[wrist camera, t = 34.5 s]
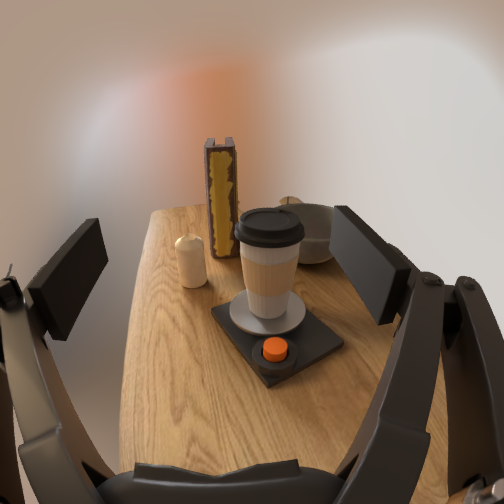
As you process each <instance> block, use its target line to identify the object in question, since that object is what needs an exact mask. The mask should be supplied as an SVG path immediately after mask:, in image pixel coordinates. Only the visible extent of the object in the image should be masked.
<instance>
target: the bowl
mask: <svg viewBox="0 0 504 504" xmlns="http://www.w3.org/2000/svg"><path fill="white" fill-rule="evenodd" d="M275 208H279V209H285V210H288V211H291V212H293V213H295V214H296V215H298V216H299V218H300V222H301V223H302V224H303V226H304V231H305V237H304V239H303V240H302V241H301V242H300V247H299V252H300V253H299V258H298V263H303V264H316V263H321V262H325V261H327V260H329V259H331V258H333V257H334V256H333V255H332V253H331V252H330V250H329V244H330V237H331V230H332V222H333V213H334V208H333V207H329V206H324V205H318V204H306V203H296V204H286V205H281V206H278V207H275Z"/></svg>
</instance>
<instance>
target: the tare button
mask: <svg viewBox="0 0 504 504" xmlns="http://www.w3.org/2000/svg"><path fill="white" fill-rule="evenodd" d="M287 347H288V345H287V343H286V341H285V340H283V339H282V338H279V337H272V338H269V339H267V340H266V341H265V342H264V345H263V356H264V358H265V359H266V360H267V361H269V362H273V363H277V362H281V361H283V360H284V359H285V358H286V355H287Z"/></svg>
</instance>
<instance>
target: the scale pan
mask: <svg viewBox="0 0 504 504" xmlns="http://www.w3.org/2000/svg"><path fill="white" fill-rule="evenodd" d="M305 312H306V308H305V304H304V302H303V300H302V299H301V298H300V297H299V296H298V295H297V294H296V293H294V292H293V291H290V296H289V300H288V305H287V309H286V311H285V312H284V313H283V314H282V315H281V316H279V317H277V318H274V319H263V318H260V317H258V316H256V315H254V314H253V313H252V312H251V310H250V308H249V302H248V296H247V289H245V290H243V291H241V292H240V293H238V294H237V295H236V296H235V297H234V298H233V300H232V301H231V304H230V316H231V319H232V321H233V322H234V323H235V324H236V326H238V327H239V328H240V329H242V330H243V331H245V332H247V333H250V334H253V335H256V336H263V337H274V336H281V335H284V334H287V333H289V332H291V331H293V330H295V329H296V328H297V327H298V326H300V324H301V323H302V322H303V320H304V317H305Z"/></svg>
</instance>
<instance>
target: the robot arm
mask: <svg viewBox="0 0 504 504" xmlns="http://www.w3.org/2000/svg"><path fill="white" fill-rule="evenodd" d="M329 250H330V252H331V253H332V255H333V256H334V258H335V259H336V261H337V262H338V264H339V265H340V267H341V268H342V270H343V271H344V273H345V274H346V276H347V277H348V279H349V280H350V282H351V283H352V285H353V286H354V288H355V290H356V291H357V293H358V294H359V296H360V297H361V299H362V301H363V302H364V304H365V305H366V307H367V309H368V310H369V312H370V313H371V315H372V317H373V318H374V320H375V322H376V323H377V325H378V326H379V325H384V324H389V323H393V320H394V318H395V315H396V313H397V312H398V314H399V315H400V317H401V319H400V322H399V324H398V327H397V329H396V331H395V334H394V336H393V337H395V338H394V341H393V344H392V347H391V350H390V353H389V356H388V359H387V362H386V365H385V368H384V371H383V374H382V376H381V379H380V382H379V384H378V387H377V389H376V392H375V394H374V397H373V399H372V402H371V404H370V406H369V409H368V411H367V413H366V416H365V418H364V420H363V422H362V424H361V427H360V429H359V431H358V433H357V435H356V437H355V439H354V441H353V443H352V445H351V447H350V449H349V451H348V453H347V454H346V456H345V458H344V459H343V461H342V462H341V464H340V465H339V467H338V468H337V470H336V471H335V473H334V474H331V473H329V472H326V471H323V470H319V469H315V468H309V467H299V464H298V460H297V459H294V460H288V461H281V462H273V463H264V464H256V465H253V466H250V467H247V468H243V469H240V470H237V471H233V472H229V473H226V474H222V475H217V476H211V475H206V474H202V473H198V472H193V471H189V470H186V469H182V468H178V467H175V466H167V465H154V464H144V463H136V462H135V468H134V471H129V472H125V473H121V474H118V475H115V474H114V473H113V472H112V470H111V469H110V468H109V467H108V466H107V465H106V464H105V462H104V461H103V459H102V458H101V456H100V455H99V453H98V451H97V450H96V448H95V446H94V445H93V443H92V441H91V440H90V438H89V436H88V434H87V432H86V430H85V429H84V427H83V425H82V423H81V421H80V419H79V417H78V415H77V413H76V411H75V409H74V407H73V405H72V403H71V400H70V398H69V396H68V394H67V392H66V389H65V387H64V385H63V382H62V380H61V377H60V375H59V372H58V370H57V367H56V365H55V362H54V359H53V356H52V354H51V351H50V348H49V345H48V342H47V340H46V338H45V337H44V335H45V333H46V331H47V330H48V332H49V334H50V335H51V337H52V339H53V340H60V341H66V340H67V338H68V336H69V333H70V331H71V329H72V327H73V325H74V323H75V321H76V319H77V317H78V315H79V313H80V311H81V309H82V307H83V306H84V304H85V302H86V300H87V298H88V296H89V294H90V292H91V290H92V289H93V287H94V285H95V283H96V282H97V280H98V278H99V276H100V274H101V273H102V271H103V269H104V267H105V266H106V264H107V262H108V257H107V253H106V249H105V245H104V241H103V237H102V233H101V228H100V224H99V220H98V218H92V219H86V221H85V222H84V223H83V224H82V225H81V226H80V227H79V228H78V229H77V230H76V231H75V232H74V233H73V234H72V235H71V236H70V237H69V239H68V240H67V241H66V242H65V243H64V244H63V245H62V246H61V247H60V249H59V250H58V251H57V252H56V253H55V254H54V255H53V257H52V258H51V259H50V260H49V261H48V263H47V264H46V265H44V266H43V267H41V269H40V270H39V271H38V272H37V275H35V276H34V277H33V280H31V281H30V282H29V284H28V285H27V286H26V288H25V289H24V290H23V292H22V291H21V289H20V287H19V285H18V282H17V280H16V278H15V277H13V276H9V275H10V272H11V268H12V264H11V265H10V268H9V272H8V274H7V276H6V278H3V279H2V280H0V504H25V500H24V495H23V489H22V484H21V479H20V474H19V468H18V461H17V454H16V446H15V437H14V423H13V406H14V410H15V413H16V417H17V420H18V424H19V427H20V431H21V434H22V437H23V440H24V444H22V445H20V446H19V447H18V453H19V457H20V459H21V462H22V465H23V467H24V470H25V473H26V475H27V477H28V480H29V482H30V485H31V487H32V489H33V491H34V493H35V496H36V498H37V500H38V502H39V504H409V502H410V500H411V497H412V495H413V492H414V490H415V487H416V485H417V482H418V479H419V476H420V474H421V471H422V468H423V465H424V462H425V458H426V455H427V452H428V448H429V445H430V439H431V436H430V433H427V432H426V425H427V421H428V417H429V412H430V408H431V404H432V399H433V394H434V389H435V383H436V378H437V372H438V365H439V358H440V350H441V356H442V363H443V370H444V378H445V387H446V398H447V413H448V494H449V499H448V501H447V503H446V504H504V340H503V337H502V334H501V331H500V329H499V327H498V324H497V321H496V319H495V316H494V314H493V312H492V309H491V307H490V305H489V303H488V300H487V298H486V296H485V294H484V292H483V290H482V288H481V286H480V285H479V283H477V282H476V281H475V279H472V278H471V277H467V276H460V277H458V279H457V281H456V284H455V286H453V285H444V282H443V280H442V279H441V278H440V277H439V276H437V275H435V274H433V273H430V272H421V271H420V270H419V269H418V268H417V267H416V266H415V265H414V264H413V263H412V262H411V261H410V260H408V258H407V257H406V256H405V255H403V253H402V252H401V251H400V250H399V249H398V248H396V247H395V246H393V245H391V244H390V243H386V242H385V241H384V240H383V239H382V238H381V237H380V236H379V235H378V234H377V233H376V232H375V231H374V230H373V229H372V228H371V227H370V226H369V225H367V224H366V223H365V222H364V221H363V220H362V219H361V218H360V217H359V216H358V215H356V213H354V212H353V211H352V210H351V209H350V208H349V207H348V206H334V213H333V222H332V230H331V237H330V244H329Z"/></svg>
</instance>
